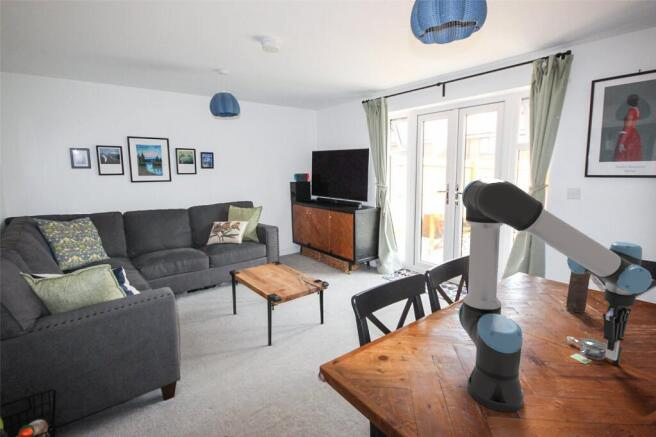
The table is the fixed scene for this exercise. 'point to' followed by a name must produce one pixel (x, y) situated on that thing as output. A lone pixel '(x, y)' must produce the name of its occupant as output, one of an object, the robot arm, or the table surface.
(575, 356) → the stand plate
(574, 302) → the candle
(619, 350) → the cam capstan
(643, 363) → the table surface
